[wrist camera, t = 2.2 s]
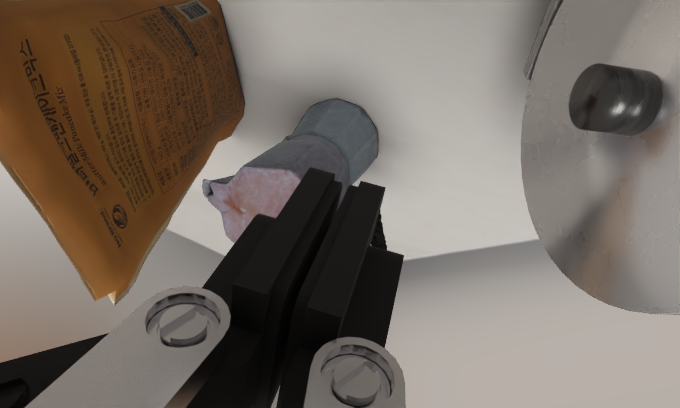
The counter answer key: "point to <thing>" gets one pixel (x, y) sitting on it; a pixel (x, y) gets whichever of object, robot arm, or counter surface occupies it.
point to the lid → (608, 150)
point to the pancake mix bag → (112, 120)
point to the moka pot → (299, 166)
